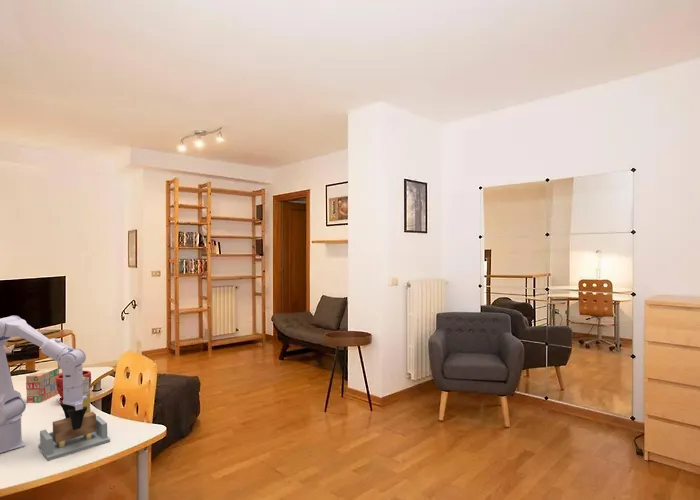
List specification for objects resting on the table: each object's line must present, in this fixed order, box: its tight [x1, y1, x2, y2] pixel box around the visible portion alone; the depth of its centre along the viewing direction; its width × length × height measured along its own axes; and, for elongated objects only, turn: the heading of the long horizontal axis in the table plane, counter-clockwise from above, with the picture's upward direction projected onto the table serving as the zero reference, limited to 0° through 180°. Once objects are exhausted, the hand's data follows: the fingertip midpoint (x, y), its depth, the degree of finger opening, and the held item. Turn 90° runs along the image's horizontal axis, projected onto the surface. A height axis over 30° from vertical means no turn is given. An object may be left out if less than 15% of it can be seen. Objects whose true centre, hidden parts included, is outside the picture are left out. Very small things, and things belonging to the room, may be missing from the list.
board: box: [52, 411, 97, 443], centre depth 149 cm, size 12×4×6 cm, turn 136°
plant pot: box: [56, 370, 92, 404], centre depth 193 cm, size 13×13×12 cm
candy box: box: [83, 376, 91, 413], centre depth 177 cm, size 9×4×15 cm, turn 60°
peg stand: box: [37, 415, 111, 462], centre depth 149 cm, size 18×14×6 cm
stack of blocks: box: [25, 367, 62, 404], centre depth 202 cm, size 21×6×12 cm, turn 178°
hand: (73, 425), depth 149 cm, fingers open, 7 cm apart
